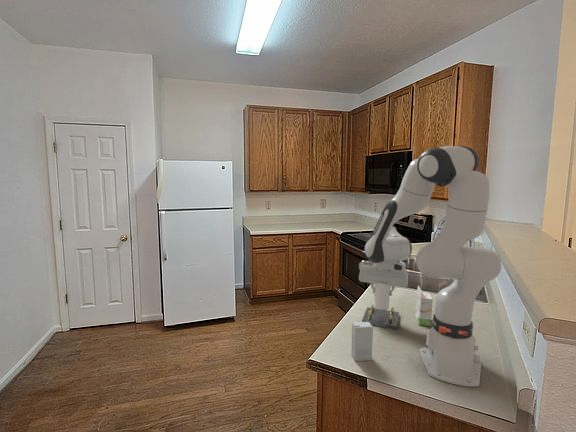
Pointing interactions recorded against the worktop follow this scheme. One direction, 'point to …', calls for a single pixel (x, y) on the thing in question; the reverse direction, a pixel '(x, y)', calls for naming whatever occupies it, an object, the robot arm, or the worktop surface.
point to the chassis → (381, 317)
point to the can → (381, 296)
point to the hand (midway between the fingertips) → (382, 294)
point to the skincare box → (362, 341)
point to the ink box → (423, 308)
